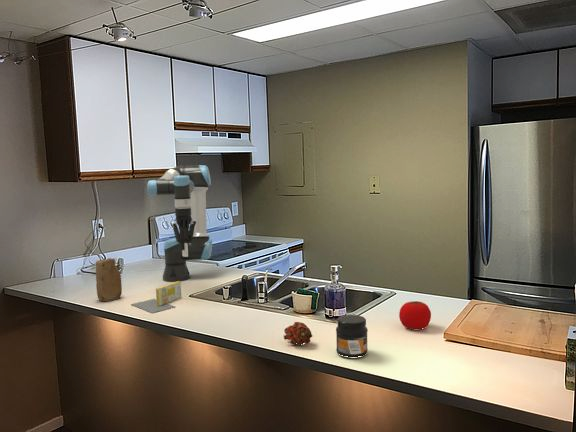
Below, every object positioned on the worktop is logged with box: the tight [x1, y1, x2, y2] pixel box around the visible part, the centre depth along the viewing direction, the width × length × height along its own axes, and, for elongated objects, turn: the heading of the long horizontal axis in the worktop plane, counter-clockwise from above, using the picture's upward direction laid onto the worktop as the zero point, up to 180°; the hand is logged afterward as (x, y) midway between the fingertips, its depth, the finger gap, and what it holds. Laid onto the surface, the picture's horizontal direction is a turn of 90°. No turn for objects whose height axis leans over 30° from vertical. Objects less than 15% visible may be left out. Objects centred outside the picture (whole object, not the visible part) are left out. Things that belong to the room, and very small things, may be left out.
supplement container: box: [335, 314, 369, 357], centre depth 164 cm, size 10×10×12 cm
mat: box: [130, 298, 176, 314], centre depth 227 cm, size 12×20×1 cm, turn 44°
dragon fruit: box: [283, 321, 313, 346], centre depth 175 cm, size 8×8×12 cm
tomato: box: [398, 300, 432, 330], centre depth 188 cm, size 12×12×10 cm
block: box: [95, 258, 123, 302], centre depth 239 cm, size 11×8×20 cm
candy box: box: [155, 281, 183, 306], centre depth 232 cm, size 16×2×8 cm, turn 154°
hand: (185, 256), depth 237 cm, fingers closed
